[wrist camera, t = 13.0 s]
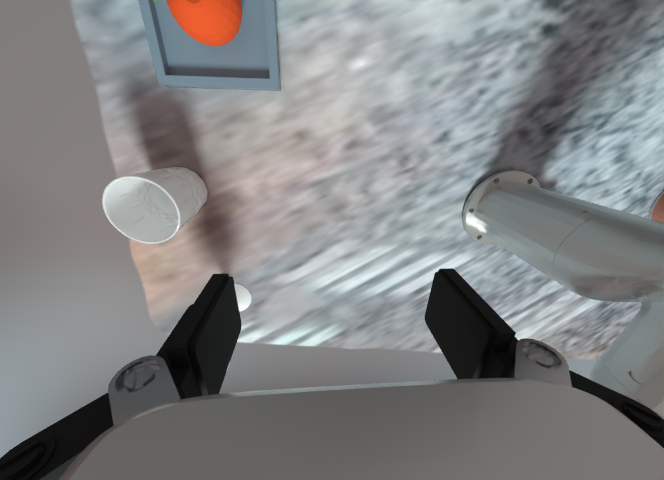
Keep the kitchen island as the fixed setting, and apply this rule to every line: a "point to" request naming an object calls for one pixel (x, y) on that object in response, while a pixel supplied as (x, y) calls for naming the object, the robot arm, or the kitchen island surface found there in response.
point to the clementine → (208, 19)
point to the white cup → (154, 203)
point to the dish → (215, 50)
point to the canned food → (658, 209)
